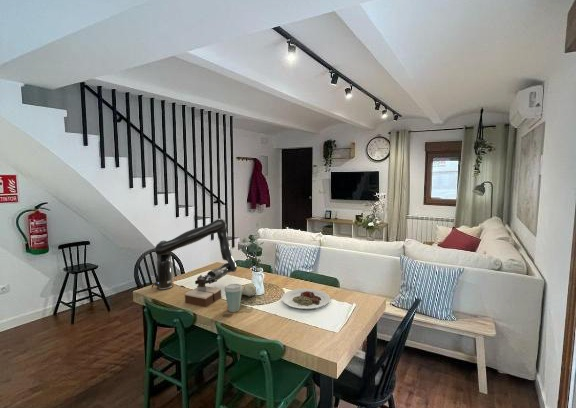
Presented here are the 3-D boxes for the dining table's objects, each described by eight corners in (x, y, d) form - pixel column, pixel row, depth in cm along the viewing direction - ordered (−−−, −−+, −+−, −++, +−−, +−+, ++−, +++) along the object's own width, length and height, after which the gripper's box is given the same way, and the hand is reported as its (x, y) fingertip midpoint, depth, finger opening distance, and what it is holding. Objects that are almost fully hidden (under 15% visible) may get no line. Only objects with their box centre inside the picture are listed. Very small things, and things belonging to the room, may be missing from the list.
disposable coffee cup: (222, 308, 186) (221, 284, 185) (239, 304, 192) (238, 280, 190) (228, 315, 177) (227, 289, 176) (246, 310, 183) (245, 286, 181)
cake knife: (197, 299, 200) (195, 278, 198) (199, 298, 202) (198, 277, 200) (205, 301, 197) (204, 279, 195) (208, 300, 199) (206, 278, 197)
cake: (185, 302, 195) (184, 293, 195) (201, 293, 209) (201, 285, 209) (205, 307, 189) (205, 297, 188) (221, 297, 203) (220, 288, 202)
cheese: (240, 303, 198) (258, 288, 196) (234, 293, 201) (252, 279, 199) (250, 301, 213) (267, 287, 211) (245, 291, 215) (261, 278, 213)
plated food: (288, 314, 178) (287, 308, 177) (277, 294, 207) (277, 289, 206) (337, 307, 184) (337, 302, 184) (320, 289, 213) (320, 284, 213)
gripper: (206, 268, 214) (189, 276, 198) (224, 270, 208) (207, 278, 192) (207, 278, 214) (189, 287, 199) (224, 281, 209) (208, 290, 193)
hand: (198, 283), depth 196 cm, fingers closed on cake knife, 4 cm apart
